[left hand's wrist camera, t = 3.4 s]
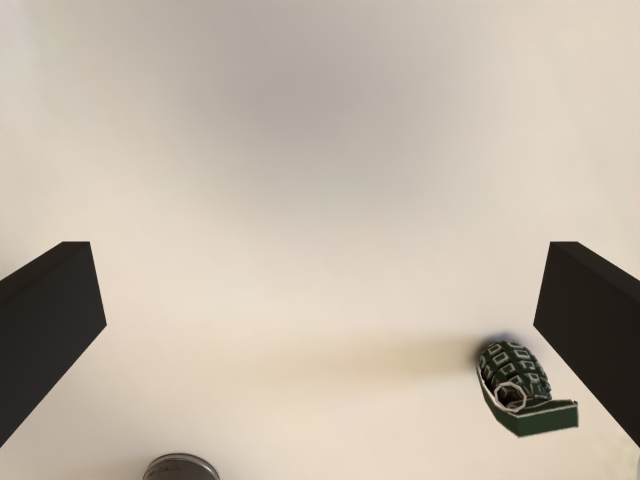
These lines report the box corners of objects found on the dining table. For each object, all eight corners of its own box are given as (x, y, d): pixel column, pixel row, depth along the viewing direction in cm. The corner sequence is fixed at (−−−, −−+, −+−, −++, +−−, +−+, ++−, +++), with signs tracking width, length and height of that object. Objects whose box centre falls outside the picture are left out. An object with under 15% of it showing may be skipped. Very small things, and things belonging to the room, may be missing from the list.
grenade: (524, 325, 45) (578, 390, 36) (529, 368, 47) (581, 440, 38) (463, 338, 46) (500, 405, 36) (470, 380, 48) (506, 454, 38)
